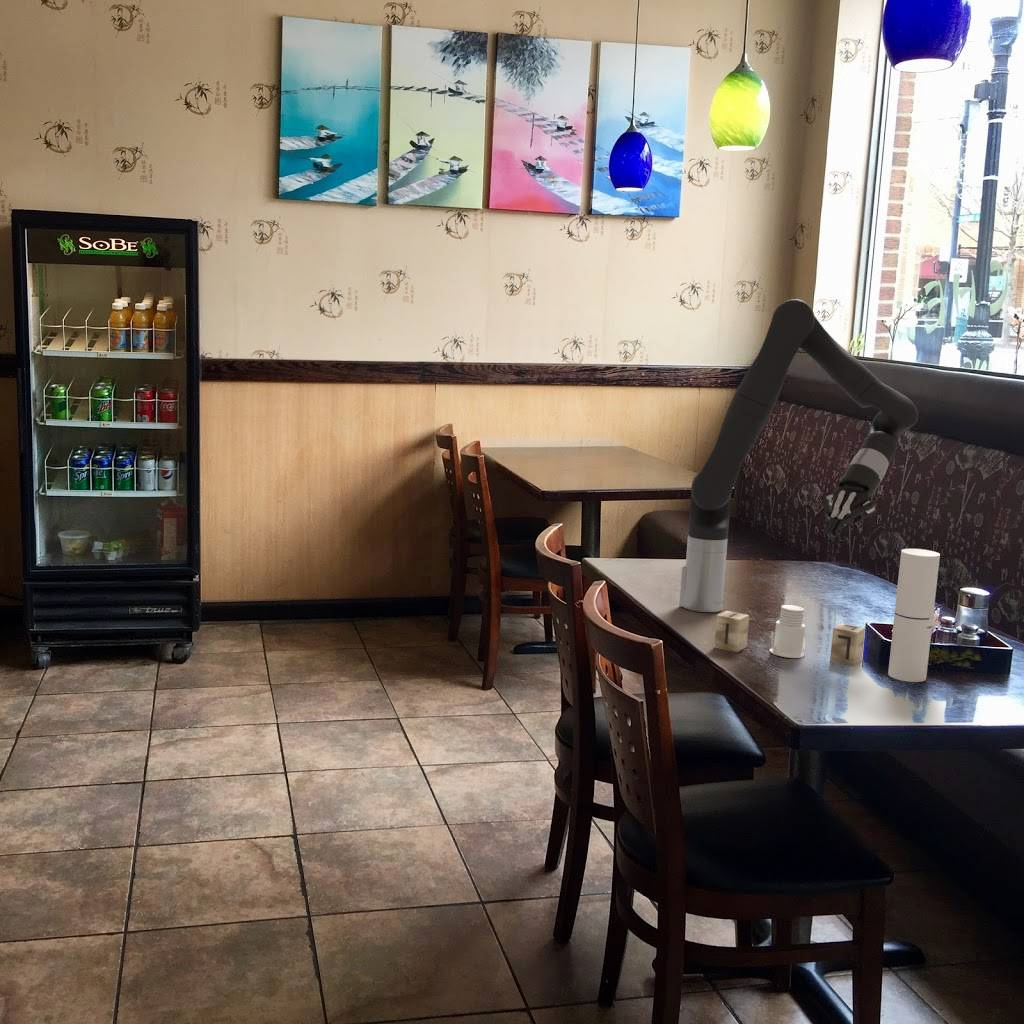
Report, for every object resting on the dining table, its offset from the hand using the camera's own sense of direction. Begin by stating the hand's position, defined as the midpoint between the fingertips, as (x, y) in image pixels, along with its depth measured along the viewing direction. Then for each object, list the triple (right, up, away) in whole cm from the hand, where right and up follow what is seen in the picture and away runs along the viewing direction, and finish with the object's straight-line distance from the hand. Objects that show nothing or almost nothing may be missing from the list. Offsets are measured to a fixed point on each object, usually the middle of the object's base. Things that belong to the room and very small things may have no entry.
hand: (830, 535), depth 251 cm
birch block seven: (+1, -26, -8) cm, 27 cm away
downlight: (-10, -25, -5) cm, 27 cm away
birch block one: (-21, -23, -2) cm, 32 cm away
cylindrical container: (+11, -28, -16) cm, 34 cm away
